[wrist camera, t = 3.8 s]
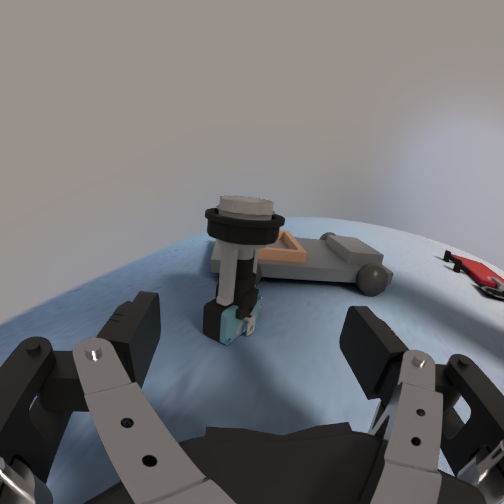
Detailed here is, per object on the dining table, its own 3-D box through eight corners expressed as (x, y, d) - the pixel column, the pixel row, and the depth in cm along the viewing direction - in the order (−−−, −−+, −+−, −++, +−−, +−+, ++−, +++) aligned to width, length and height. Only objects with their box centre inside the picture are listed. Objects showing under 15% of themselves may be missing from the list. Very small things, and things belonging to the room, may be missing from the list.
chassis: (344, 254, 46) (349, 232, 45) (394, 296, 30) (403, 266, 28) (217, 243, 44) (219, 218, 43) (208, 287, 28) (210, 249, 27)
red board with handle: (477, 297, 31) (531, 311, 26) (483, 281, 30) (537, 297, 25) (436, 255, 58) (480, 268, 53) (439, 245, 57) (482, 258, 52)
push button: (234, 301, 25) (245, 193, 23) (285, 320, 23) (304, 203, 20) (185, 329, 20) (189, 195, 17) (244, 359, 17) (262, 208, 14)
